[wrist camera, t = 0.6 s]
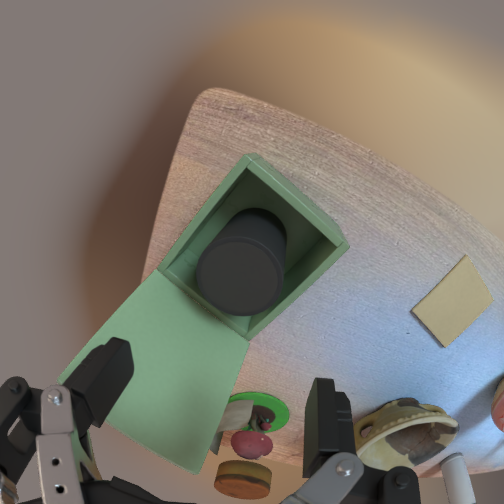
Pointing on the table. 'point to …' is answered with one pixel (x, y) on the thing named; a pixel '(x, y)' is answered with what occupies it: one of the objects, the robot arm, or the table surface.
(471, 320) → the mat
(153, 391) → the box lid
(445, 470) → the travel mug
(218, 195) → the green open box
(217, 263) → the dark grey cylinder
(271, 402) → the mushroom figurine
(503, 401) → the vase
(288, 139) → the table surface
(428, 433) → the bowl
